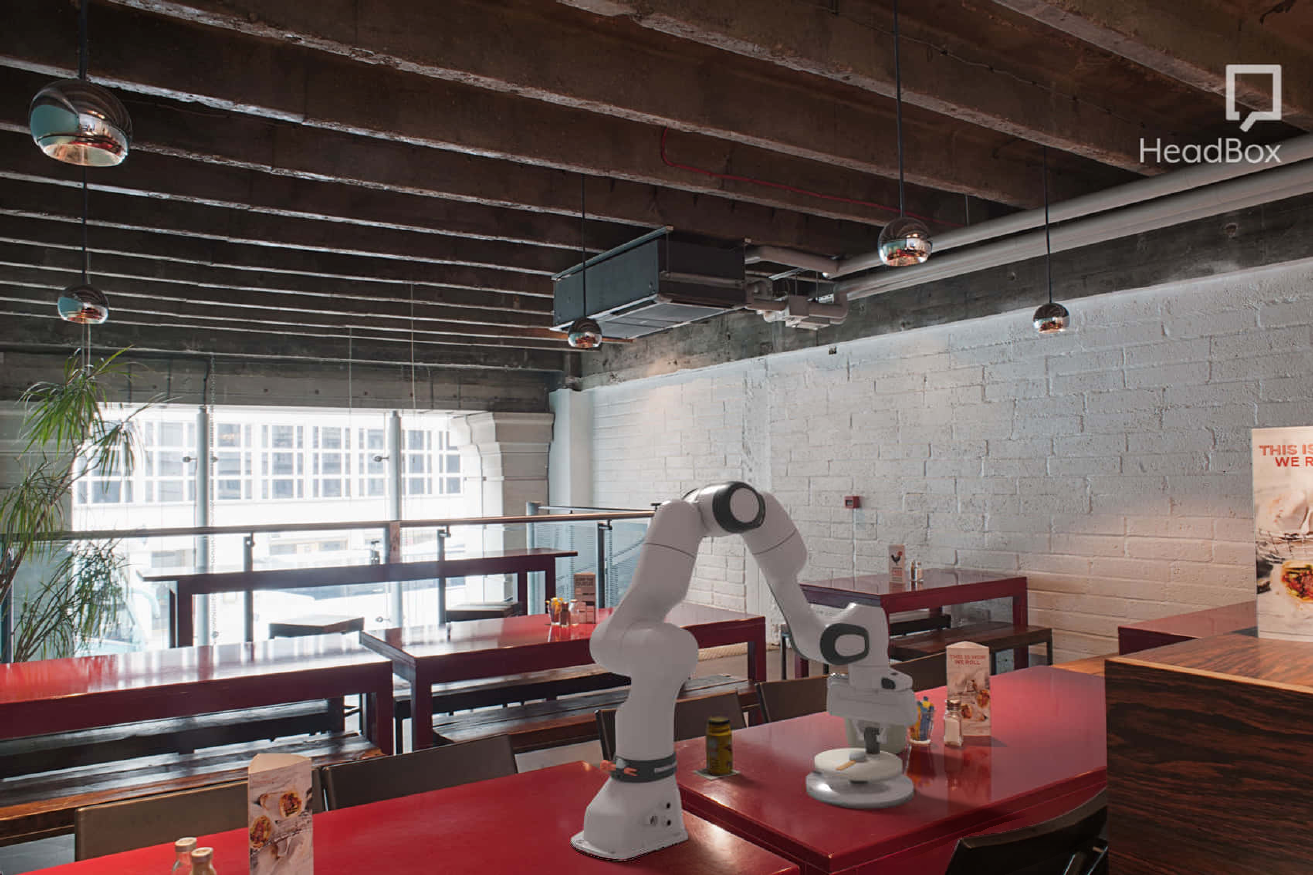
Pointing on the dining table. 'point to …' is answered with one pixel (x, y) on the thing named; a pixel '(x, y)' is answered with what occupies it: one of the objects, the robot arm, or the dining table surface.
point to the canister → (893, 737)
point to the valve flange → (860, 791)
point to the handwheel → (860, 761)
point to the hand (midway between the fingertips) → (872, 741)
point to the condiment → (718, 749)
